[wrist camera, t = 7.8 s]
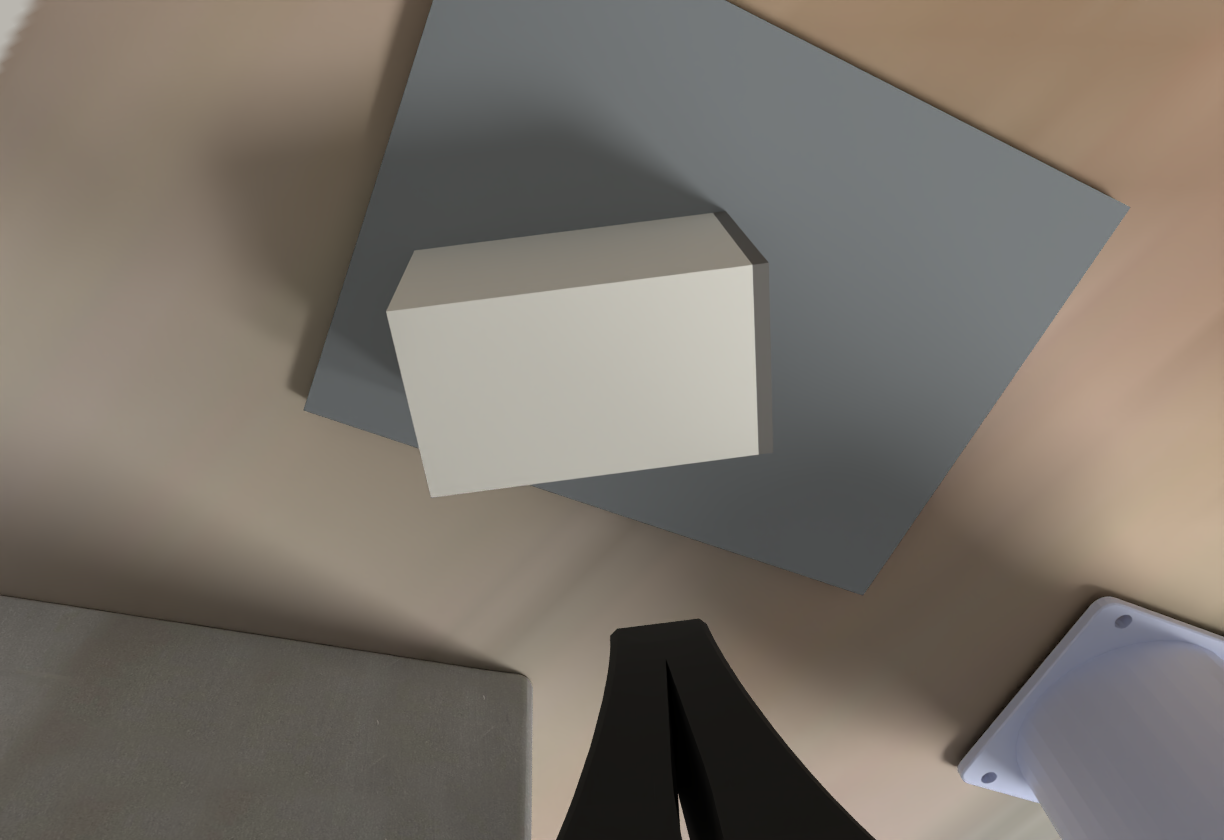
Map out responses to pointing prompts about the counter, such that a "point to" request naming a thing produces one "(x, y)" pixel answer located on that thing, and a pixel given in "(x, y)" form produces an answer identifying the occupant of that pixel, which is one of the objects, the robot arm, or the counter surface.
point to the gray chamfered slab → (248, 736)
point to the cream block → (585, 352)
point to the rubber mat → (772, 220)
